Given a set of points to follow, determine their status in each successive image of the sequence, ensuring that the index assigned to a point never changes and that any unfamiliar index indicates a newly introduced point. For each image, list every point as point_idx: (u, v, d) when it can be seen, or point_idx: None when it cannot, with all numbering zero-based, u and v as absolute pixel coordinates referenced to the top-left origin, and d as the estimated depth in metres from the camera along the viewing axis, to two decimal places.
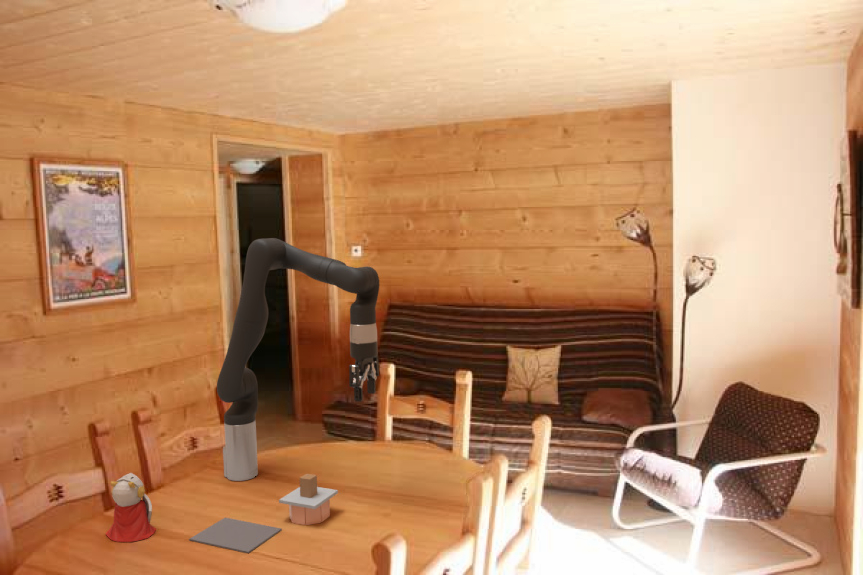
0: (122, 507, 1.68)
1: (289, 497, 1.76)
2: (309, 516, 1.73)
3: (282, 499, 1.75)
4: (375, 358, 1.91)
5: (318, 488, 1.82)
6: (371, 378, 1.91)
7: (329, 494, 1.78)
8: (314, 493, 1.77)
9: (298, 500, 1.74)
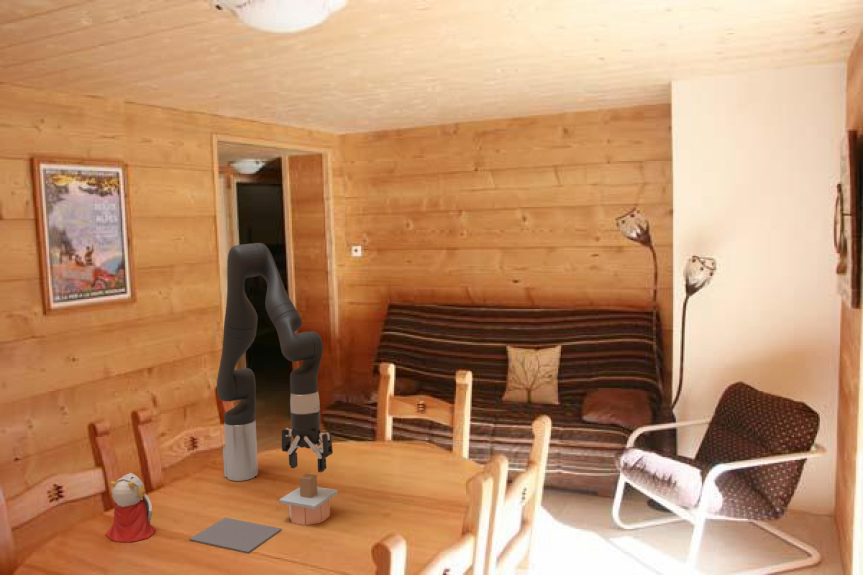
0: (122, 507, 1.68)
1: (289, 497, 1.76)
2: (309, 516, 1.73)
3: (282, 499, 1.75)
4: None
5: (318, 488, 1.82)
6: (294, 451, 1.79)
7: (329, 494, 1.78)
8: (314, 493, 1.77)
9: (298, 500, 1.74)
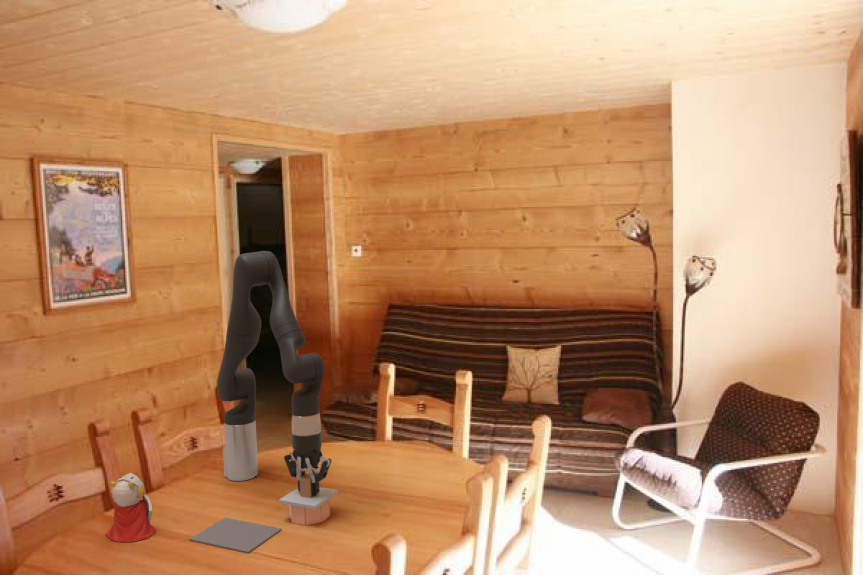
0: (122, 507, 1.68)
1: (289, 497, 1.76)
2: (309, 516, 1.73)
3: (282, 499, 1.75)
4: None
5: None
6: None
7: (329, 494, 1.78)
8: None
9: (298, 500, 1.74)
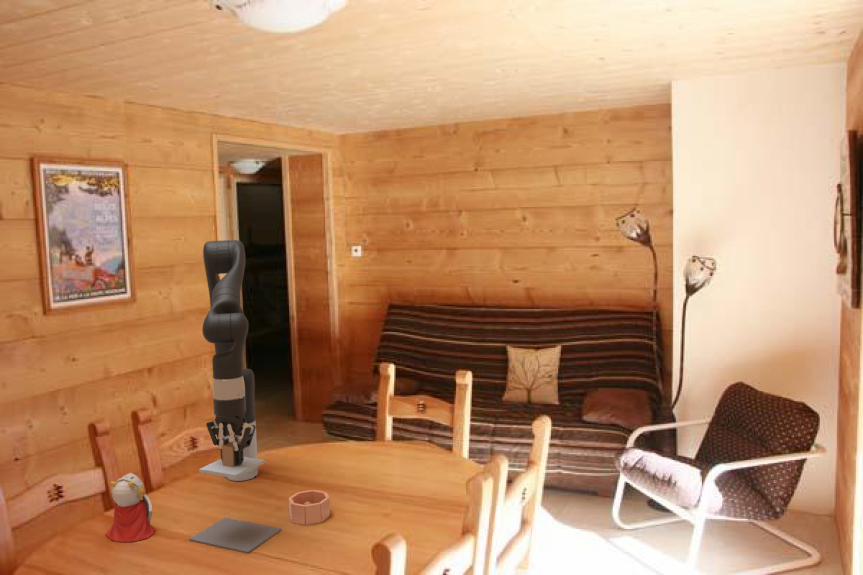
0: (122, 507, 1.68)
1: (211, 466, 1.65)
2: (309, 516, 1.73)
3: (202, 468, 1.64)
4: None
5: (244, 458, 1.71)
6: None
7: (254, 463, 1.67)
8: None
9: (219, 469, 1.63)
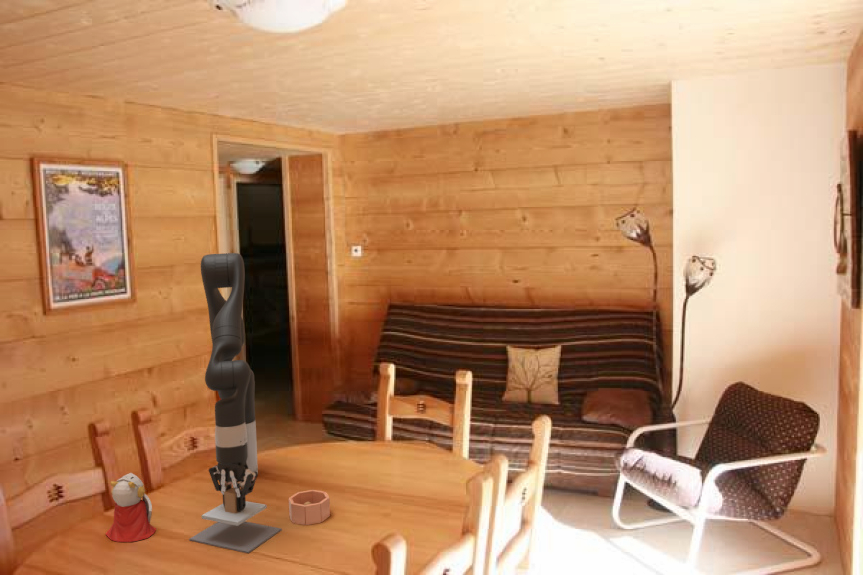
0: (122, 507, 1.68)
1: (213, 512, 1.66)
2: (309, 516, 1.73)
3: (205, 515, 1.65)
4: None
5: (246, 502, 1.72)
6: None
7: (256, 509, 1.68)
8: None
9: (221, 516, 1.64)
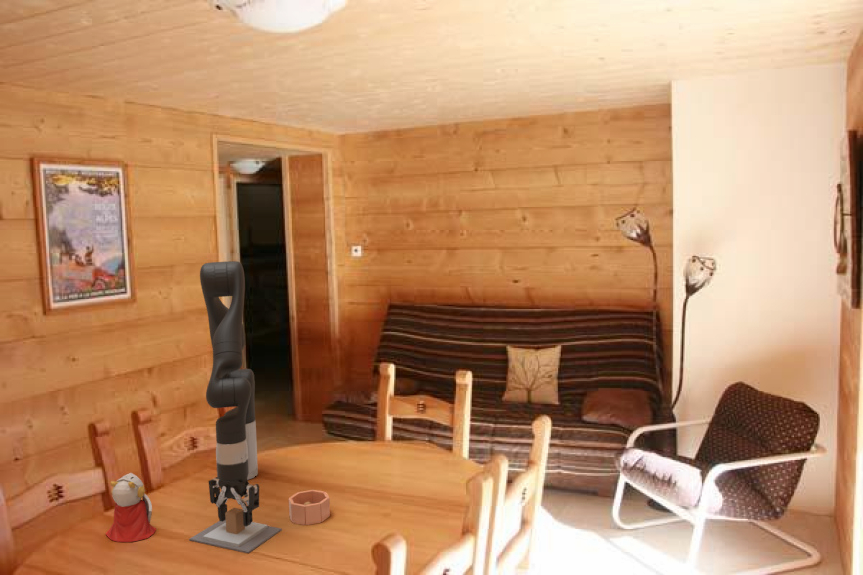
0: (122, 507, 1.68)
1: (214, 533, 1.67)
2: (309, 516, 1.73)
3: (206, 535, 1.66)
4: None
5: None
6: (223, 503, 1.69)
7: (257, 530, 1.68)
8: (241, 529, 1.68)
9: (223, 537, 1.65)
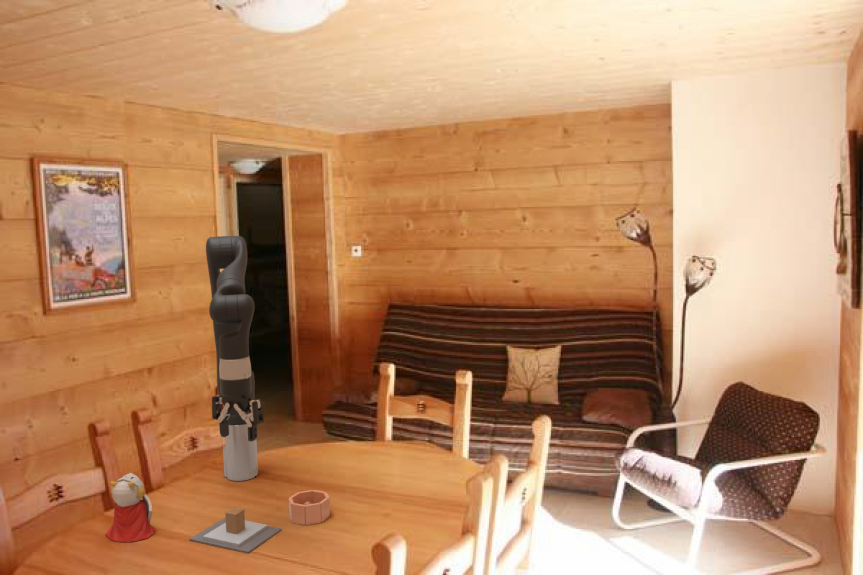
0: (122, 507, 1.68)
1: (214, 533, 1.67)
2: (309, 516, 1.73)
3: (206, 535, 1.66)
4: None
5: (247, 522, 1.72)
6: (225, 419, 1.70)
7: (257, 530, 1.68)
8: (241, 529, 1.68)
9: (223, 537, 1.65)
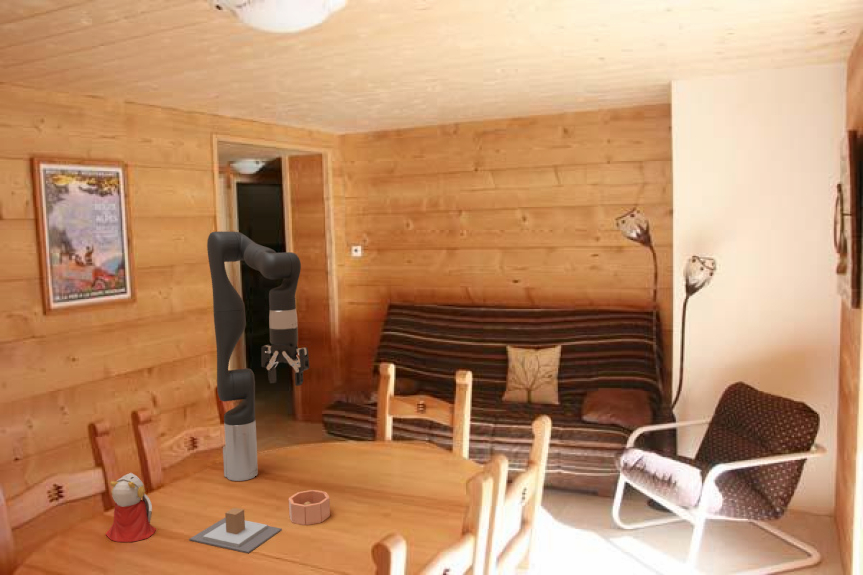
0: (122, 507, 1.68)
1: (214, 533, 1.67)
2: (309, 516, 1.73)
3: (206, 535, 1.66)
4: None
5: (247, 522, 1.72)
6: (273, 367, 1.88)
7: (257, 530, 1.68)
8: (241, 529, 1.68)
9: (223, 537, 1.65)
